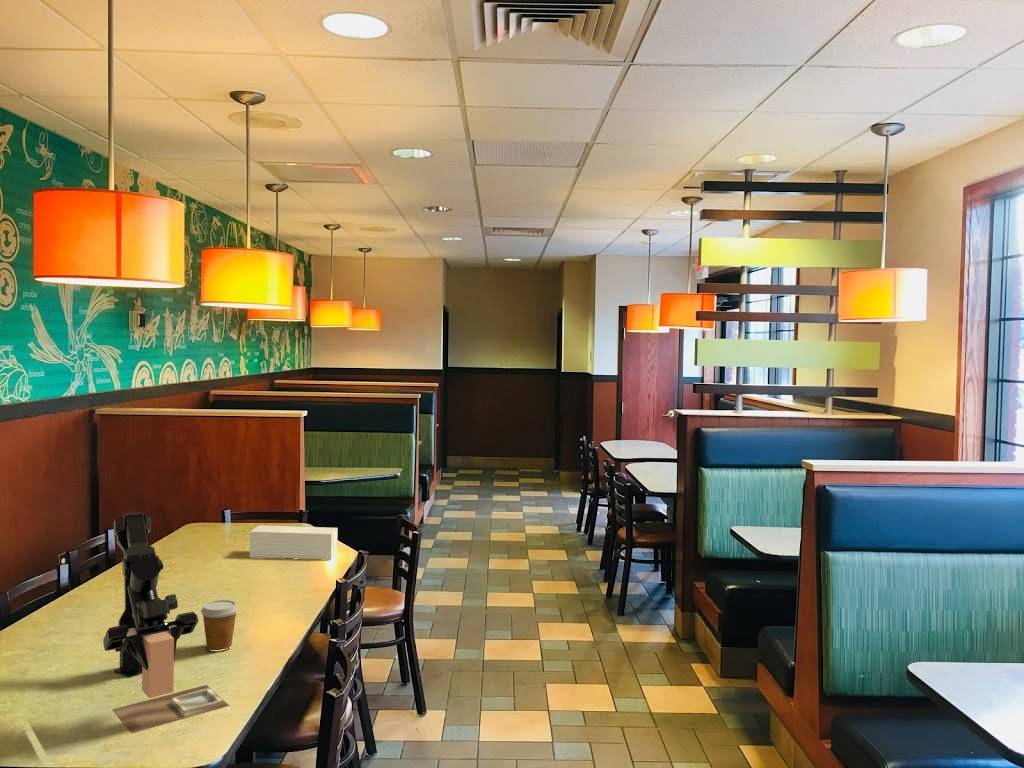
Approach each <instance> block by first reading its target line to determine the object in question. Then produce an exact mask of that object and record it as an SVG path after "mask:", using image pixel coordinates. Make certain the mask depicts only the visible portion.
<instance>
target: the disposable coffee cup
mask: <svg viewBox="0 0 1024 768" xmlns="http://www.w3.org/2000/svg"><path fill="white" fill-rule="evenodd" d="M238 609H239V607H238V605H237V602H236V601H234V600H230V599H217V600H212V601H211V600H210V601H208V602H206V603H204V604H203V605H202V609H201V611H200V612H201V615H202V617H203V626H204V635H205V643H206V650H207V649H210V650H221V649H226V648H229V647H230V646H231V647H232V645H233V636H234V630H235V625H236V624H235V622H236V617H237V616H236V615H237V611H238Z"/></svg>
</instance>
